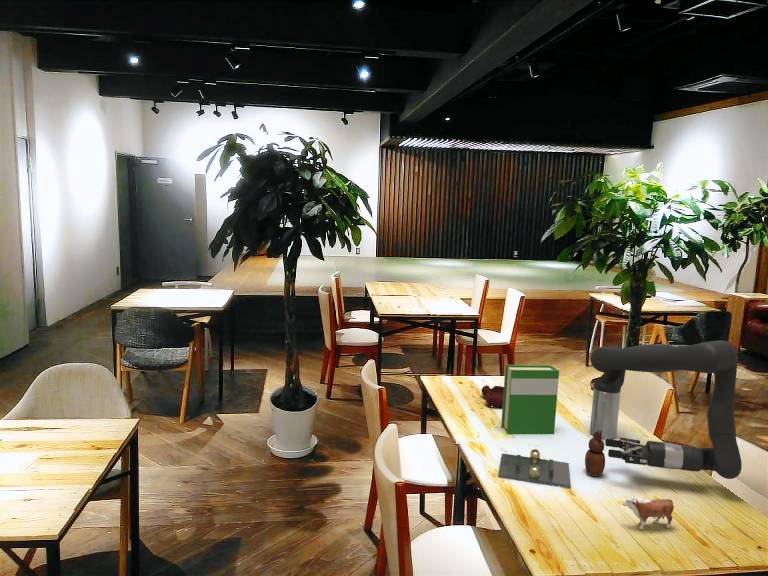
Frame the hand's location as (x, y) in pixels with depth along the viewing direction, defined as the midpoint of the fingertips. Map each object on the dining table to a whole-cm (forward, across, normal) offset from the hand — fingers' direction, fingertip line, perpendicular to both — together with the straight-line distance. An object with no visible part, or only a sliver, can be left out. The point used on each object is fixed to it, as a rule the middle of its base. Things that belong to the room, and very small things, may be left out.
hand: (606, 447), depth 177 cm
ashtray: (+35, -59, +10) cm, 70 cm away
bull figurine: (-8, +28, +9) cm, 31 cm away
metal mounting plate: (+21, +5, +9) cm, 23 cm away
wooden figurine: (+3, 0, +9) cm, 10 cm away
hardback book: (+24, -30, +9) cm, 40 cm away
